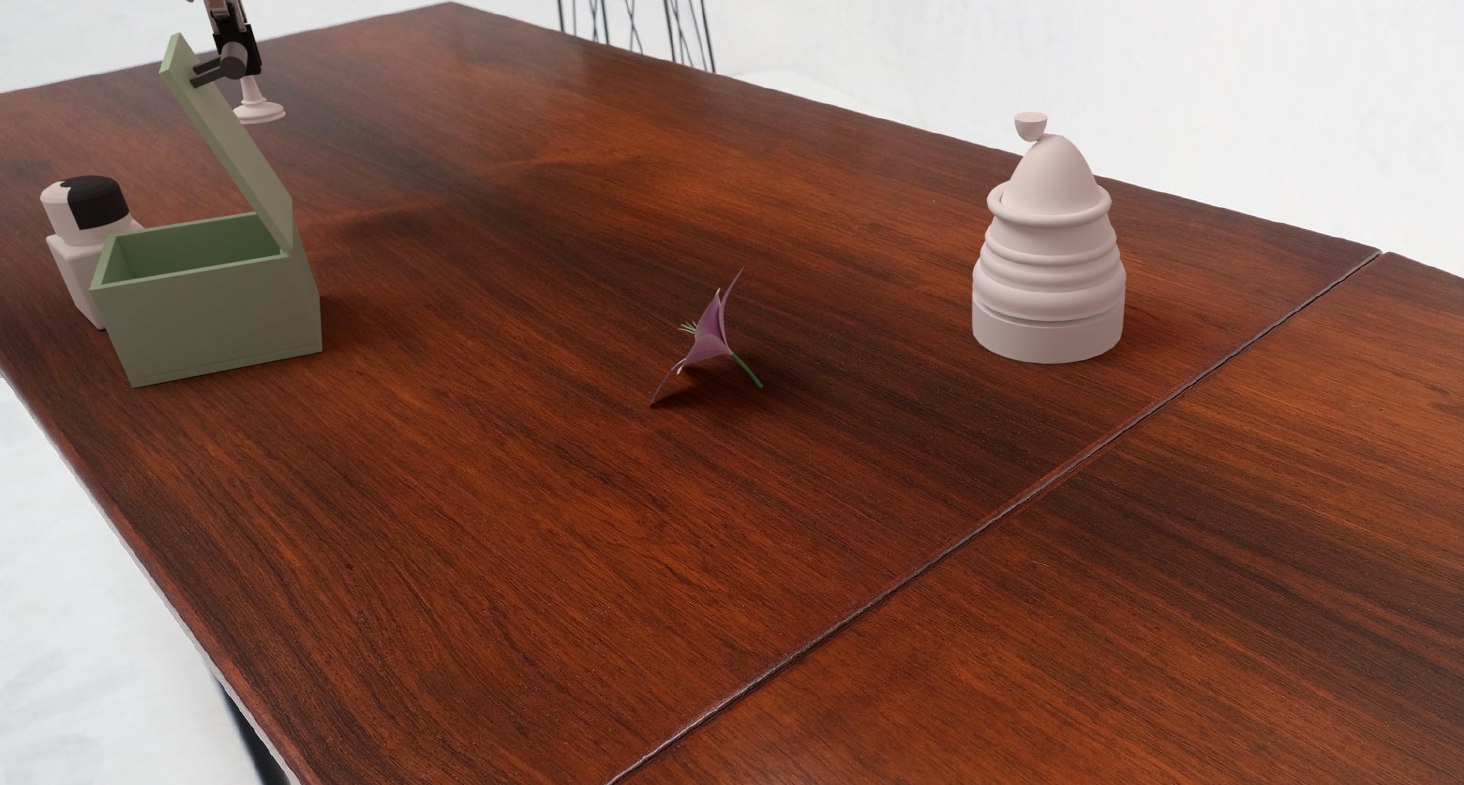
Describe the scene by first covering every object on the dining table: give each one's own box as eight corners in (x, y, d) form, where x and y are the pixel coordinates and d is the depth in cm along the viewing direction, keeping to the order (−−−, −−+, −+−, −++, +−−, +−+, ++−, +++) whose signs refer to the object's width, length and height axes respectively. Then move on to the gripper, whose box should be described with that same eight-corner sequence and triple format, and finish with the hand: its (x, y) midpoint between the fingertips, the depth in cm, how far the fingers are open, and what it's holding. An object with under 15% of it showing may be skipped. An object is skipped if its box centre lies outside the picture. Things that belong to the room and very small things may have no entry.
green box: (132, 388, 99) (88, 290, 94) (146, 326, 109) (106, 234, 104) (322, 351, 104) (290, 256, 99) (319, 295, 113) (289, 205, 108)
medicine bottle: (158, 284, 116) (108, 163, 109) (183, 306, 112) (132, 181, 105) (76, 308, 112) (19, 183, 105) (99, 332, 108) (41, 203, 101)
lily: (746, 348, 104) (677, 261, 99) (835, 335, 96) (764, 239, 91) (664, 446, 98) (587, 359, 93) (751, 441, 90) (671, 344, 85)
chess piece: (240, 127, 117) (206, 20, 112) (225, 117, 120) (191, 11, 115) (292, 117, 120) (262, 12, 114) (276, 107, 123) (245, 4, 117)
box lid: (157, 73, 89) (223, 46, 89) (170, 35, 98) (229, 11, 99) (283, 253, 98) (341, 227, 99) (284, 202, 108) (336, 179, 109)
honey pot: (951, 350, 101) (948, 137, 91) (999, 288, 111) (1001, 89, 100) (1101, 374, 97) (1116, 153, 86) (1137, 307, 106) (1154, 102, 96)
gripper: (141, -146, 112) (206, 57, 122) (122, -128, 100) (197, 97, 110) (229, -150, 115) (286, 49, 125) (222, -133, 102) (286, 87, 113)
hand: (244, 70), depth 117 cm, fingers closed on chess piece
